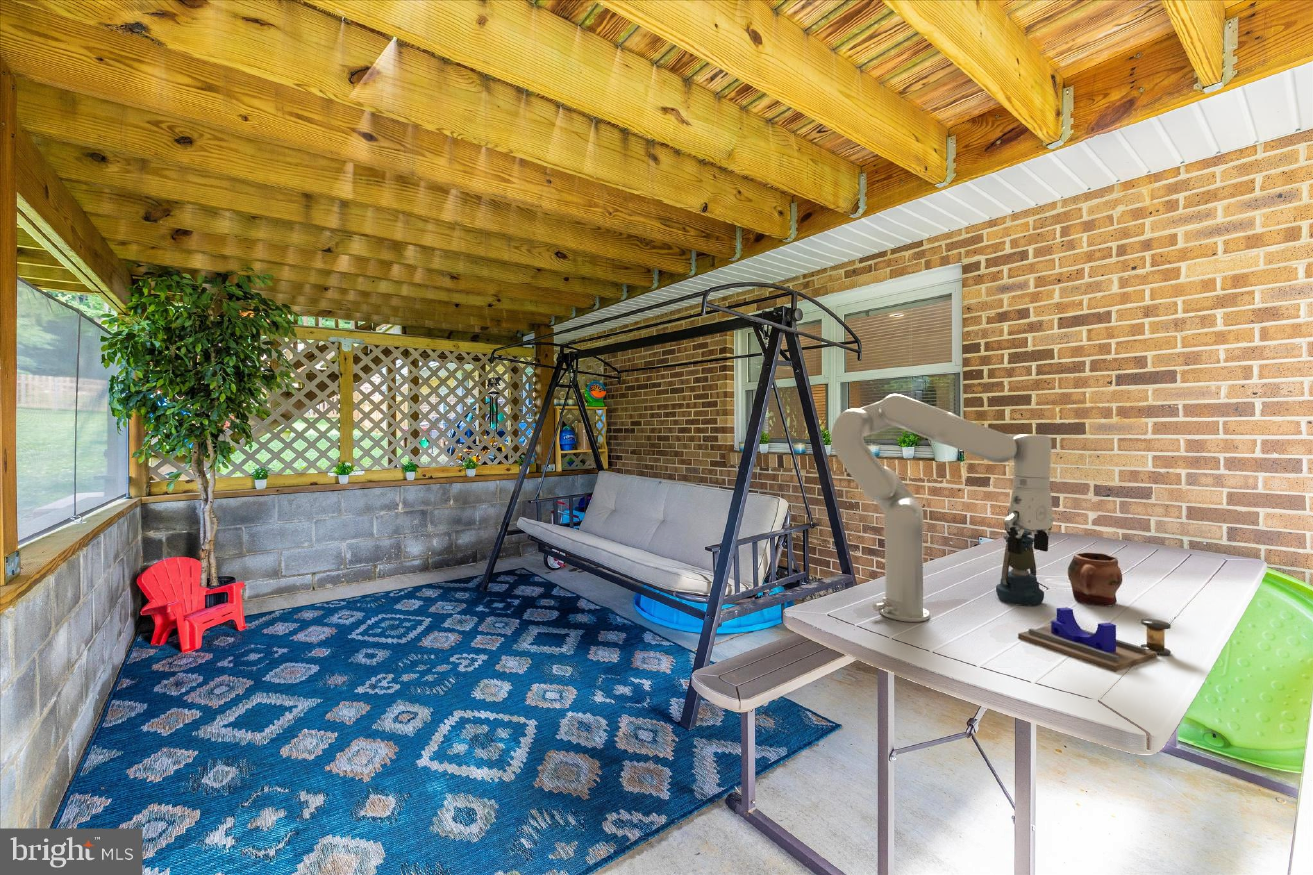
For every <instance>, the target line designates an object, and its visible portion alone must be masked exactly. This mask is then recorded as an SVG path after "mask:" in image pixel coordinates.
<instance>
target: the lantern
mask: <svg viewBox="0 0 1313 875" xmlns="http://www.w3.org/2000/svg"><path fill="white" fill-rule="evenodd" d="M1009 510H1010V507H1008V511H1007V517H1008V516H1009ZM1015 530H1016V531H1017V532H1018V529H1015ZM1032 533H1033V531H1027V530H1026V529H1025V530H1024V532H1023V534H1022V536H1021V537H1020V538H1023V541H1022V554H1015V553H1011V552H1008V536H1007V535H1004V536H1003V539H1004V540H1005V543H1006V544H1005V549H1004V555H1003V562H1002V568H1001V578H1000V581H999V583H998V584H997V585H996V586H995V591H996V595H997V597H998V599H999V600H1001V601H1002V602H1005V603H1007V604H1010V605H1016V606H1025V607H1038V606H1040V605H1042V603H1043V601H1044V599H1045V591H1044V590H1043V589H1041V588H1040V582H1038V578H1037V564H1036V558H1035V553H1034V537H1032V536H1033V534H1032ZM1010 568H1011V570H1010ZM1009 570H1010V571H1009Z"/></svg>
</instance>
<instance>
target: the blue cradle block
mask: <svg viewBox="0 0 1313 875" xmlns="http://www.w3.org/2000/svg"><path fill="white" fill-rule="evenodd" d="M1050 625H1051V633H1052V634H1055V635H1057V636H1059V637H1062V638H1064V639H1066V640H1069V641H1072V642H1080V643H1083V644H1085V645H1087V646H1090V647H1092V648H1094V649H1097V650H1100V651H1104V652H1116V639H1117V625H1116V624H1114V623H1111V622H1101V623H1100V622H1099V623H1097V628H1096V631H1095V632H1093V633H1094V634H1093V635H1090V634H1088V633H1086V632H1085V631H1083V630H1084V629H1083V628H1081V627H1080V625H1079V624H1078V622H1077V620H1076V617H1075V614H1074V609H1072V608H1070V607H1057V608H1056V620H1051V621H1050ZM1082 629H1083V630H1082Z"/></svg>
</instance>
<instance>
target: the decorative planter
mask: <svg viewBox="0 0 1313 875" xmlns="http://www.w3.org/2000/svg"><path fill="white" fill-rule="evenodd" d="M1121 570H1122V569H1121V568H1120V566H1119V560H1118V558H1117V556H1112V555H1109V554H1106V553H1102V552H1101V553H1100V552H1079V553H1075V554H1074V556H1073V558H1072V559H1071V562H1070V563H1069V565H1068V568H1067V577H1068V579H1069V582H1070V585H1071V589H1072V590H1071V591H1072V596H1073V598H1074V600H1075V601H1076V602H1077V603H1081V604H1086V605H1091V606H1098V607H1113V606H1115V605H1116V604H1117V602H1118V601H1117V596H1116V594H1117V592H1118V590H1119V589H1120V587H1121V586H1122V584H1123V574H1122V571H1121Z"/></svg>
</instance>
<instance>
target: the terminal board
mask: <svg viewBox="0 0 1313 875" xmlns="http://www.w3.org/2000/svg"><path fill="white" fill-rule="evenodd" d="M1081 629H1082V630H1083V631H1085V632H1086V633H1088V634H1090V635H1093V634H1094V633H1095V632H1093V631H1090V630H1087V629H1083V628H1081ZM1017 635H1018V636H1017V639H1020V640H1022V641H1025V642H1028V643H1031V644H1033V645H1037V646H1039V647H1042V648H1045V649H1048V650H1050V651H1053V652H1056V653H1060V654H1063V655H1066V656H1068V657H1071V658H1074V659H1077V660H1080V661H1083V662H1086V663H1089V664H1091V665H1095V666H1097V667H1099V668H1102V669H1106V670H1108V671H1112V672H1115V673H1116V672H1120V671H1123V670H1125V669H1128V668H1131V667H1134V666H1136V665H1140V664H1143V663H1147V662H1148V661H1149V662H1150V661H1151V660H1155V659H1157V658H1158V655H1157V652H1154V651H1150V650H1147V649H1146V648H1143V647H1141V645H1137V644H1133V643H1130V642H1126V641H1124V640H1119V639H1117V638H1116V652H1104V651H1100V650H1097V649H1094V648H1092V647H1090V646H1087V645H1085V644H1083V643H1080V642H1072V641H1069V640H1066V639H1064V638H1062V637H1059V636H1057V635H1055V634H1052V633H1051V624H1050V625H1046V626H1042V627H1041V626H1040V627H1038V628H1032V627H1031V628H1028V630H1027V631H1022V632H1019V633H1018V634H1017Z"/></svg>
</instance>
